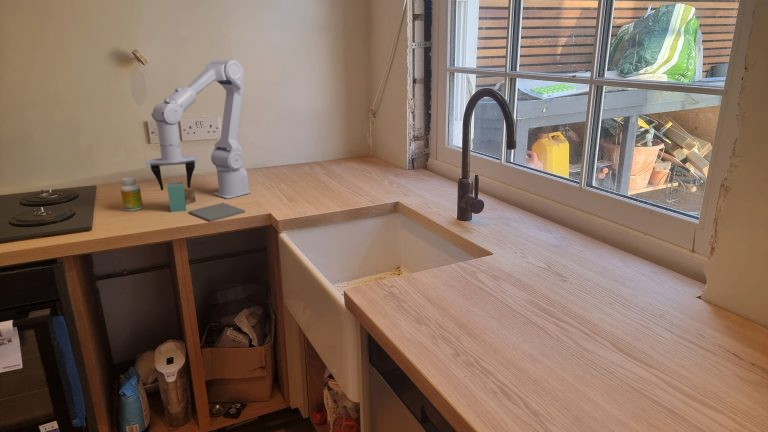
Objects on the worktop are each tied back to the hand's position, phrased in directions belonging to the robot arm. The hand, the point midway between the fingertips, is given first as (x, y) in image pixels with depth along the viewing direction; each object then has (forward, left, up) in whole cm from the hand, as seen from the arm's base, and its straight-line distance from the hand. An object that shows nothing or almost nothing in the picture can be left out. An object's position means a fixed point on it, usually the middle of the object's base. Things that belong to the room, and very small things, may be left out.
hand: (175, 188), depth 159 cm
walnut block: (-6, -5, -7) cm, 10 cm away
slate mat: (-6, +12, -7) cm, 15 cm away
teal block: (0, 0, -7) cm, 7 cm away
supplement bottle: (+9, -11, -7) cm, 16 cm away
